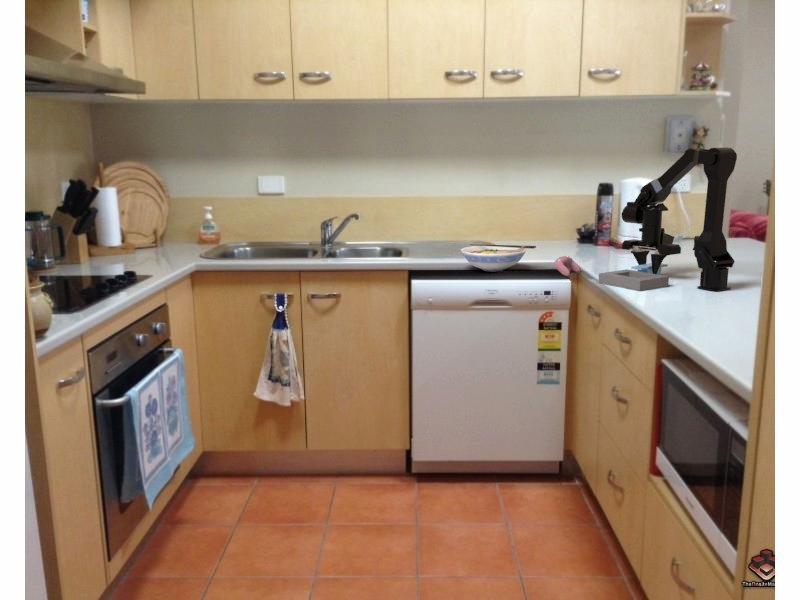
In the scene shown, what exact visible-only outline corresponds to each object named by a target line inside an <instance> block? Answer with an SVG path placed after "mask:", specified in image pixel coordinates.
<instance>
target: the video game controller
mask: <svg viewBox="0 0 800 600" xmlns="http://www.w3.org/2000/svg"><path fill="white" fill-rule="evenodd" d="M553 265H554V267H555V269H556V270H557V271H558V272H559V273H560V274H561V275H563V276H565V277H569V276H570V275H571V271H573V272H575V273H580V272H581V266H580V265H579V264H578V263H576V262H575V261H574V260H573V258H572V257H570V256H569V255H568V256H566V255H565V256H564V255H562V256H559V257H558V258H556V260H555V261H554V264H553Z"/></svg>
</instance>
